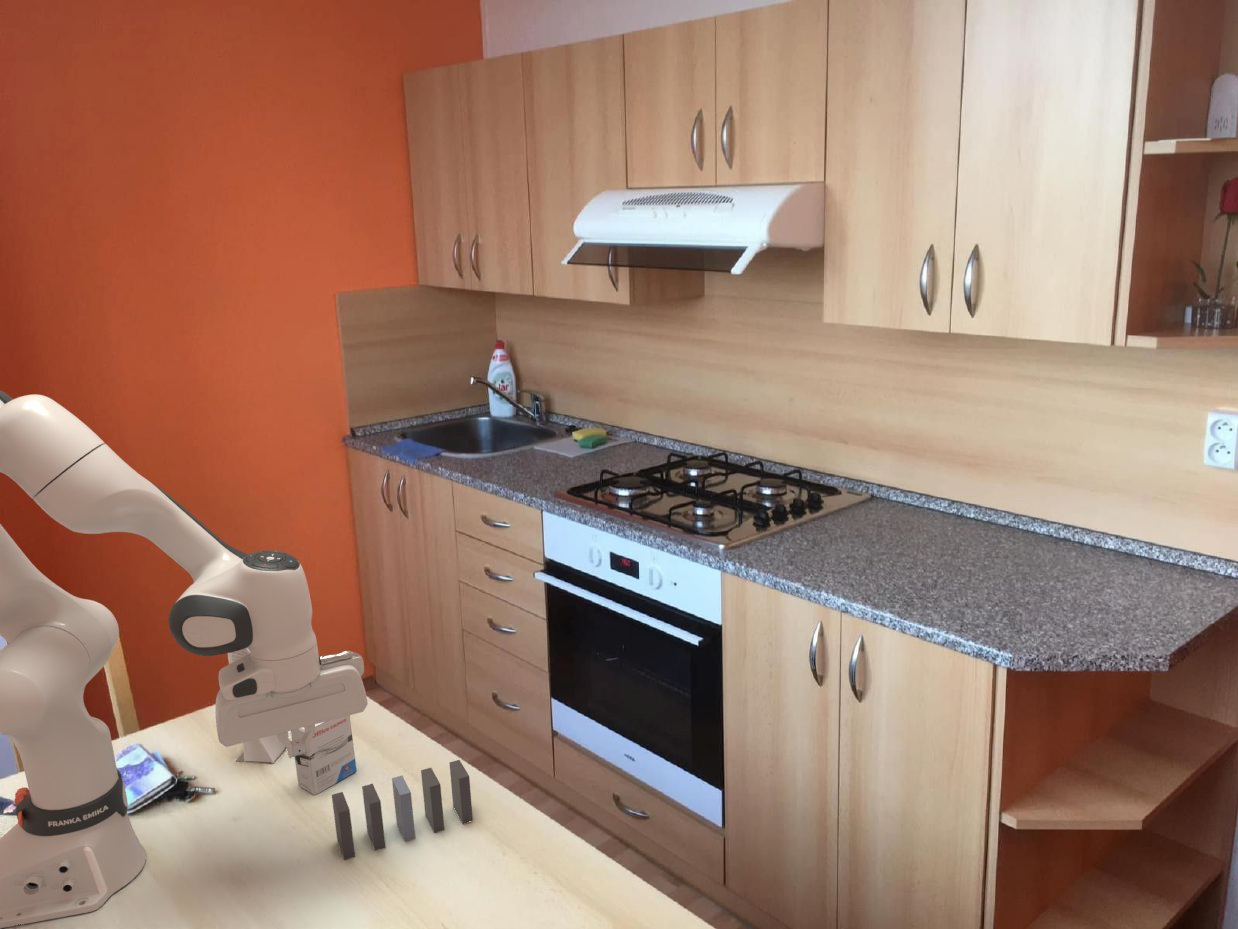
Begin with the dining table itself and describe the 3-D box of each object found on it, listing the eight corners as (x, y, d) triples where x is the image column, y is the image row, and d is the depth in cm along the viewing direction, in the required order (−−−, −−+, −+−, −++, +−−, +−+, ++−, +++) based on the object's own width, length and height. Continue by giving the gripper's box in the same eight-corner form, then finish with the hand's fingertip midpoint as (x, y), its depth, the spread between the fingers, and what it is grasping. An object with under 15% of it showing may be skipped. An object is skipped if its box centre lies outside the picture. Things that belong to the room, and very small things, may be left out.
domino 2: (374, 851, 153) (369, 804, 150) (367, 832, 157) (362, 786, 155) (385, 847, 153) (380, 801, 151) (377, 829, 158) (372, 783, 155)
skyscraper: (300, 743, 182) (280, 597, 175) (279, 769, 175) (257, 617, 167) (255, 741, 184) (233, 595, 176) (232, 766, 176) (209, 615, 168)
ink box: (339, 762, 176) (332, 700, 172) (358, 772, 173) (350, 709, 169) (296, 785, 170) (288, 721, 166) (314, 796, 166) (306, 731, 163)
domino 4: (434, 833, 156) (429, 787, 154) (425, 815, 161) (421, 770, 158) (444, 830, 157) (440, 784, 155) (435, 812, 161) (431, 767, 159)
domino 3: (404, 841, 155) (400, 795, 152) (396, 823, 159) (391, 778, 157) (415, 838, 155) (410, 792, 153) (406, 820, 160) (402, 775, 157)
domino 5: (462, 824, 158) (459, 778, 156) (453, 807, 163) (449, 762, 160) (472, 821, 159) (469, 776, 157) (463, 804, 163) (459, 759, 161)
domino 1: (344, 860, 151) (338, 813, 149) (337, 841, 155) (331, 794, 153) (355, 857, 152) (349, 809, 149) (348, 838, 156) (342, 791, 154)
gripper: (356, 639, 149) (367, 724, 153) (206, 673, 141) (222, 762, 145) (366, 656, 144) (377, 744, 148) (210, 693, 136) (226, 785, 140)
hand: (299, 753), depth 146 cm, fingers closed
